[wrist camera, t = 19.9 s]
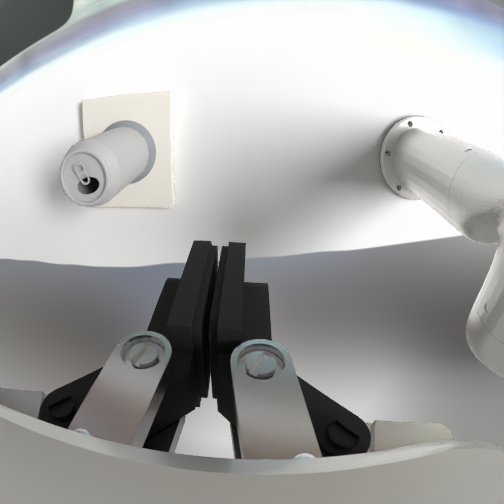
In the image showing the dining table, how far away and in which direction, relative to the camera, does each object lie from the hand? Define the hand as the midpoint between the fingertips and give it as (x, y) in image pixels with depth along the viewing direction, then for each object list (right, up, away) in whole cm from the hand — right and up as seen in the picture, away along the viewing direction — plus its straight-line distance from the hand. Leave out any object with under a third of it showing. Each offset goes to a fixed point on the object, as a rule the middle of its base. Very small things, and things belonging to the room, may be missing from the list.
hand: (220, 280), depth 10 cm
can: (-16, +14, +27) cm, 35 cm away
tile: (-16, +15, +28) cm, 36 cm away
